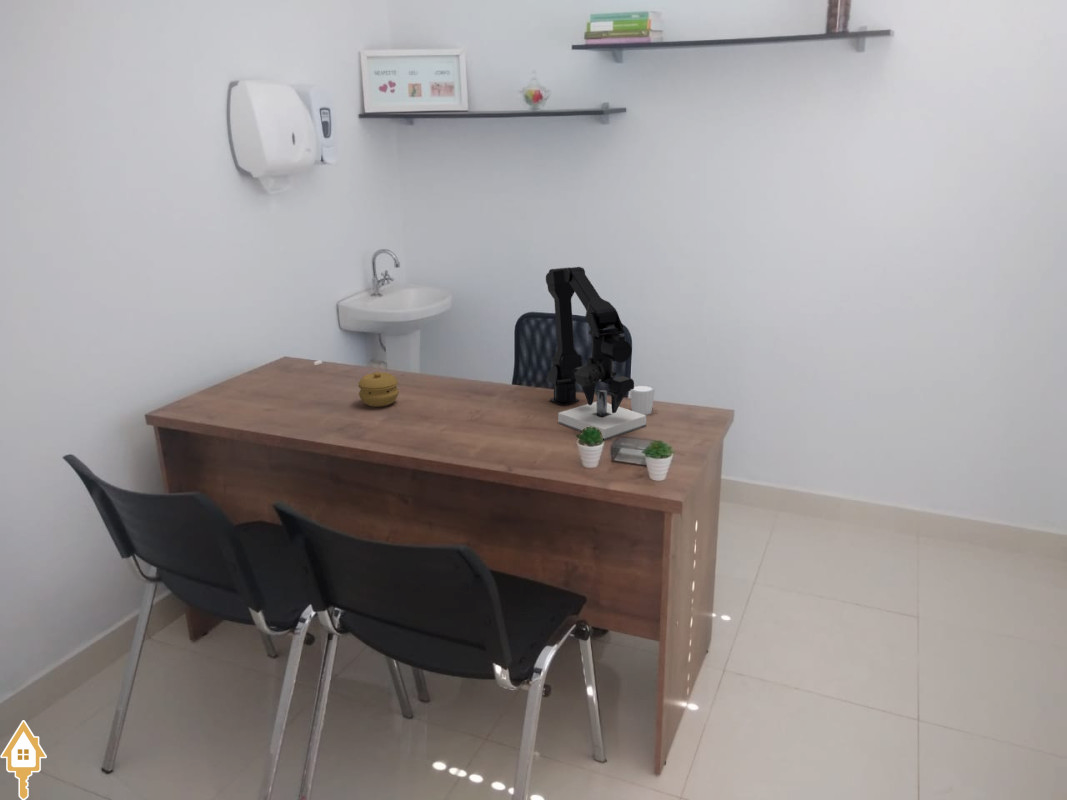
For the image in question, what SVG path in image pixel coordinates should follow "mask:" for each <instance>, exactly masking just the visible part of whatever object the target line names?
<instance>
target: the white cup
mask: <svg viewBox="0 0 1067 800" xmlns="http://www.w3.org/2000/svg"><path fill="white" fill-rule="evenodd" d="M655 389H656V388H654V387H653V386H650V385H643V384H640V385H639V384H638V385H634V389H631V390H630V391H629V392H630V403H631V411H634V412H637V413H640V414H643V415H646V416H647V415H650V414H652V412H653V404H654V397H655Z"/></svg>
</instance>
